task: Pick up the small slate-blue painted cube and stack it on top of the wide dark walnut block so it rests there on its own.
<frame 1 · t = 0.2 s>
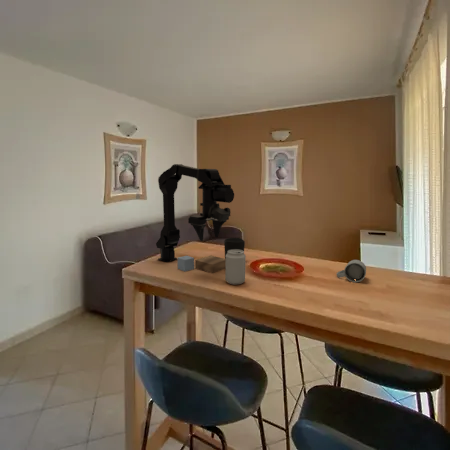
hand: (209, 238, 124), 14 cm above the table, tool pointing down, fingers open, 9 cm apart
can: (235, 282, 115), on the table
ceramic mug: (351, 279, 120), on the table
pen holder: (234, 261, 142), on the table
walnut block: (211, 268, 132), on the table
cube: (185, 269, 130), on the table
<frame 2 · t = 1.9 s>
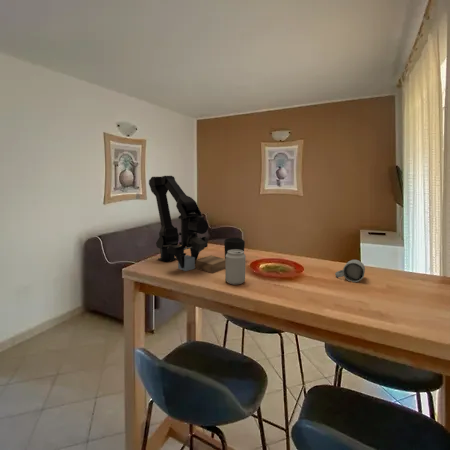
hand: (188, 266, 130), 1 cm above the table, tool pointing down, fingers open, 6 cm apart
cube: (186, 268, 130), on the table, touching gripper
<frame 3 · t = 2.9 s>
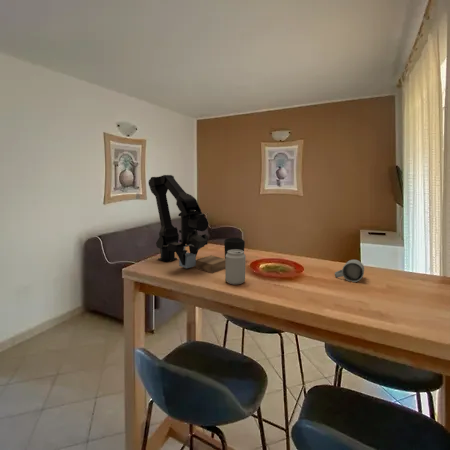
hand: (188, 263, 130), 2 cm above the table, tool pointing down, fingers closed on cube, 5 cm apart
cube: (187, 265, 131), point 1 cm above the table, touching gripper
everything else where it was.
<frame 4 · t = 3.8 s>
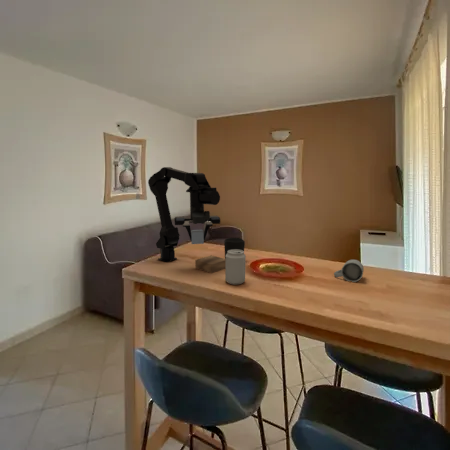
hand: (197, 240, 128), 12 cm above the table, tool pointing down, fingers closed on cube, 5 cm apart
cube: (197, 242, 129), point 11 cm above the table, touching gripper
everything else where it was.
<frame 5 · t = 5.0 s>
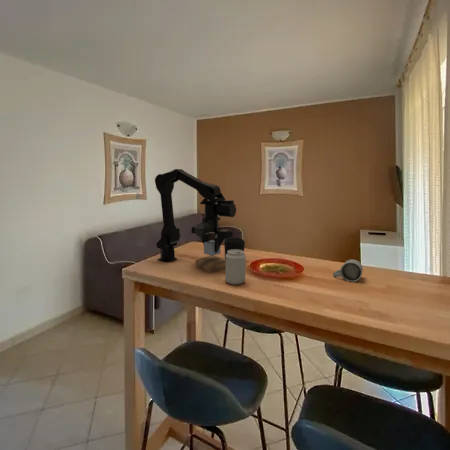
hand: (211, 251, 130), 7 cm above the table, tool pointing down, fingers closed on cube, 5 cm apart
cube: (212, 253, 131), point 6 cm above the table, touching gripper
when the fingers open (6 cm above the table, at t = 5.5 s): cube drops 2 cm, resting on walnut block.
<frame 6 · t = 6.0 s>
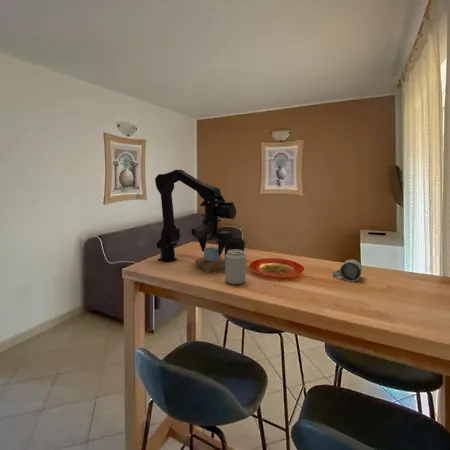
hand: (211, 253, 130), 6 cm above the table, tool pointing down, fingers open, 9 cm apart
walnut block: (211, 268, 132), on the table, touching cube
cube: (212, 259, 131), point 4 cm above the table, touching walnut block
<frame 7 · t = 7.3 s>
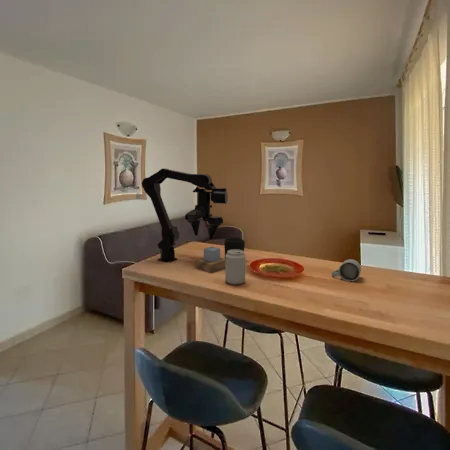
hand: (203, 237, 138), 12 cm above the table, tool pointing down, fingers open, 9 cm apart
walnut block: (211, 268, 132), on the table
cube: (212, 259, 131), point 4 cm above the table
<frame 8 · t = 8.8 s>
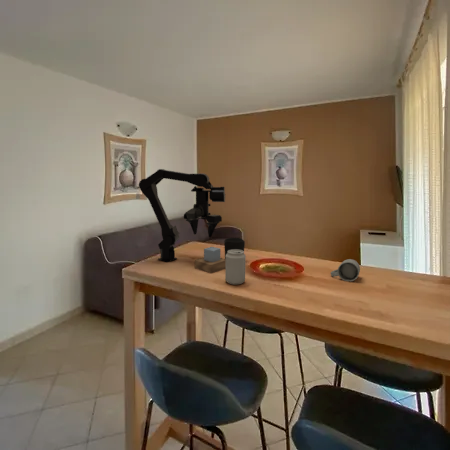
hand: (202, 235, 139), 12 cm above the table, tool pointing down, fingers open, 9 cm apart
at the end: cube inside the target area on the walnut block (0.4 cm from its centre), point 4.0 cm above the walnut block's base; cube tilted 0°; the gripper is holding nothing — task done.
